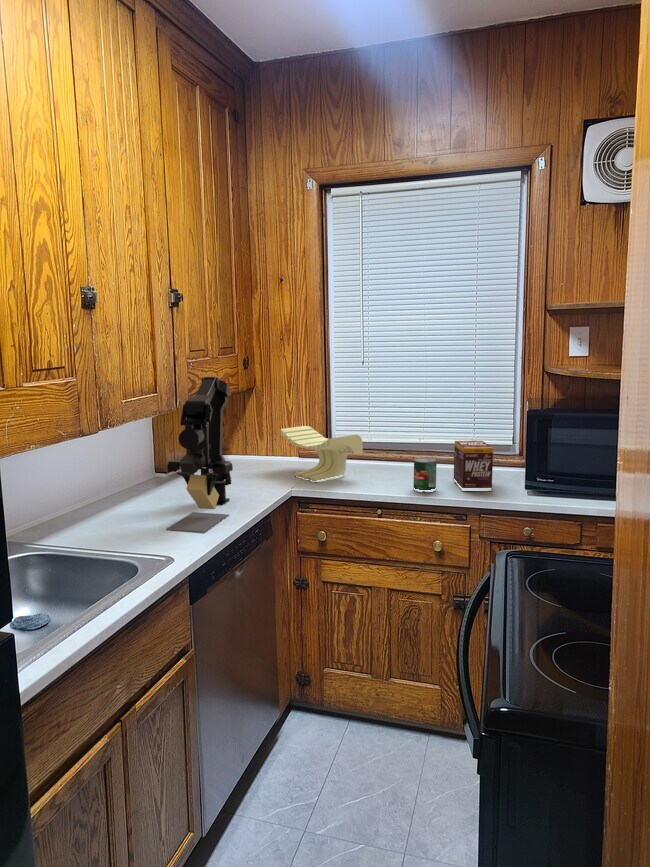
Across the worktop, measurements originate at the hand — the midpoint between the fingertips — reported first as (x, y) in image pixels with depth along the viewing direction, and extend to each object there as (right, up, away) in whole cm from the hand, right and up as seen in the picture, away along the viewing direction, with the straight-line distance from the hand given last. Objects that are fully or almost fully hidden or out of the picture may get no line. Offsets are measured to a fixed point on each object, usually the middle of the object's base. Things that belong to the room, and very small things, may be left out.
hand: (200, 494), depth 186 cm
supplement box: (+90, -1, +39) cm, 98 cm away
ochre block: (+1, -3, +6) cm, 7 cm away
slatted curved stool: (+35, +1, +56) cm, 67 cm away
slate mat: (0, -8, -1) cm, 8 cm away
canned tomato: (+72, -2, +35) cm, 80 cm away
